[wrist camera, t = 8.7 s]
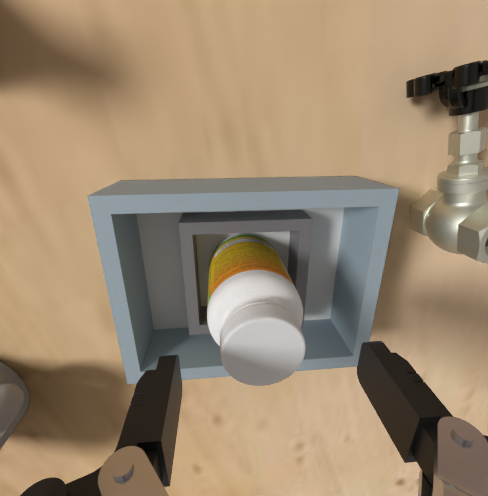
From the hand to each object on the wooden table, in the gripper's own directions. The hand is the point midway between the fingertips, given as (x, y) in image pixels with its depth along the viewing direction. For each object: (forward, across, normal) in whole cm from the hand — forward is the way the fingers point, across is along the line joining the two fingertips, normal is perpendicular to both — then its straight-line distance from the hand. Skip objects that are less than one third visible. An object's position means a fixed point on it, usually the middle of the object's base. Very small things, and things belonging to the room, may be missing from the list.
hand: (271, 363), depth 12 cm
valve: (+12, -14, -7) cm, 20 cm away
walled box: (+11, 0, 0) cm, 11 cm away
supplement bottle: (+11, 0, 0) cm, 11 cm away
